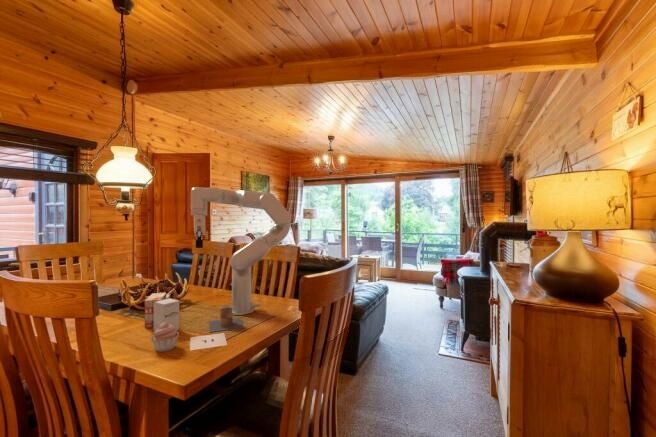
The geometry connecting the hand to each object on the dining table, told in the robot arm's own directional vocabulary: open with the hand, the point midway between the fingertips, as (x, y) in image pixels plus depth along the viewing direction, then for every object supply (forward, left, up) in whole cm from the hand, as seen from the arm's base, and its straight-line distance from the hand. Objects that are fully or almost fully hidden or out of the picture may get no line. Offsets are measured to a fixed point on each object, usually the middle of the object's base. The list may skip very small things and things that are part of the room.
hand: (199, 247), depth 157 cm
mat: (-11, +22, -33) cm, 41 cm away
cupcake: (+12, +39, -34) cm, 53 cm away
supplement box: (+13, +19, -34) cm, 41 cm away
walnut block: (-11, +22, -33) cm, 41 cm away
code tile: (-3, +38, -33) cm, 51 cm away
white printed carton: (+18, +2, -34) cm, 38 cm away
